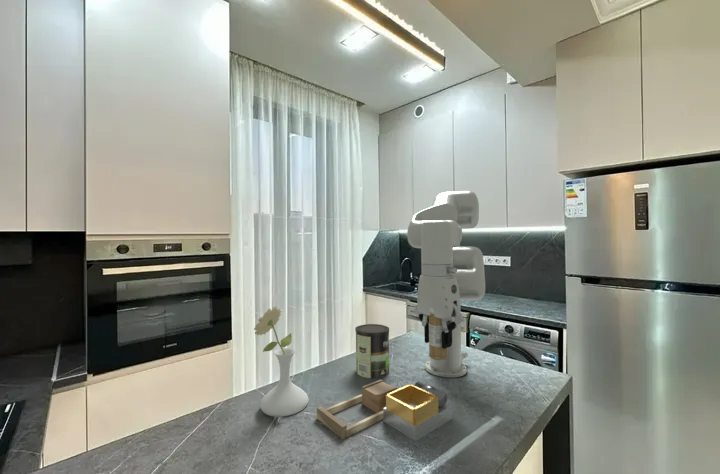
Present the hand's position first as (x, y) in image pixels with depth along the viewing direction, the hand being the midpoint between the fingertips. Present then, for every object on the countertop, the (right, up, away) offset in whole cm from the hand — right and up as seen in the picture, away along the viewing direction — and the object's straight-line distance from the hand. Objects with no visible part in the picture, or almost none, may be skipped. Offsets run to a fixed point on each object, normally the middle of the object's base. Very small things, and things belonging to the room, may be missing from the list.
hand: (438, 343), depth 78 cm
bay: (-18, -15, -6) cm, 24 cm away
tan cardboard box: (-15, -14, -3) cm, 20 cm away
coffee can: (-16, -16, +17) cm, 28 cm away
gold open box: (-7, -15, -9) cm, 19 cm away
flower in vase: (-38, -15, -2) cm, 41 cm away
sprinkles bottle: (0, -4, 0) cm, 4 cm away
